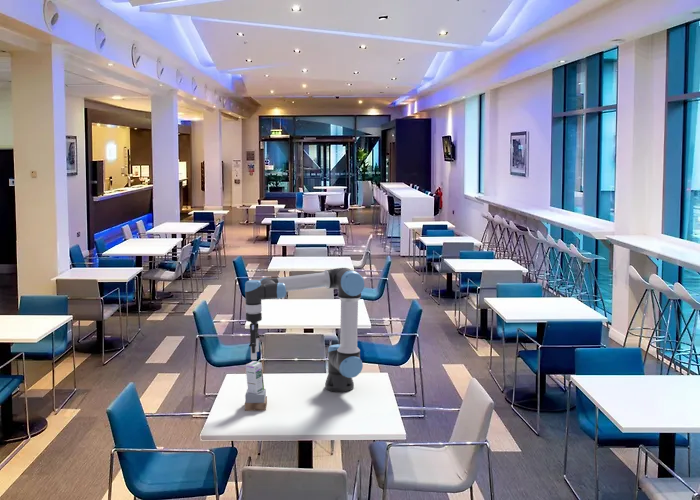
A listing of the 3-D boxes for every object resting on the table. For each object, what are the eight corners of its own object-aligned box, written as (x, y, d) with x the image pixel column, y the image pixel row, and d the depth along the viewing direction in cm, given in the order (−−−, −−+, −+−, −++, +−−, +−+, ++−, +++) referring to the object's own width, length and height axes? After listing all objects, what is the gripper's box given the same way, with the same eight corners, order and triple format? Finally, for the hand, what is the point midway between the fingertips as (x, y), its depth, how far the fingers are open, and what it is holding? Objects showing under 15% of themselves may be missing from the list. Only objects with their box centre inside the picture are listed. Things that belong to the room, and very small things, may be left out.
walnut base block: (267, 404, 371) (266, 396, 370) (265, 411, 361) (265, 403, 360) (246, 404, 370) (246, 396, 370) (244, 411, 360) (244, 403, 360)
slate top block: (265, 396, 370) (265, 388, 369) (264, 402, 361) (264, 394, 360) (247, 396, 369) (247, 389, 369) (245, 403, 361) (245, 395, 360)
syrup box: (257, 394, 361) (254, 365, 358) (247, 392, 364) (245, 364, 361) (264, 390, 366) (262, 362, 363) (255, 388, 369) (252, 360, 366)
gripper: (248, 307, 371) (249, 348, 374) (243, 318, 347) (244, 362, 350) (263, 306, 372) (264, 348, 375) (259, 318, 347) (261, 362, 350)
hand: (254, 355), depth 362 cm, fingers open, 13 cm apart
